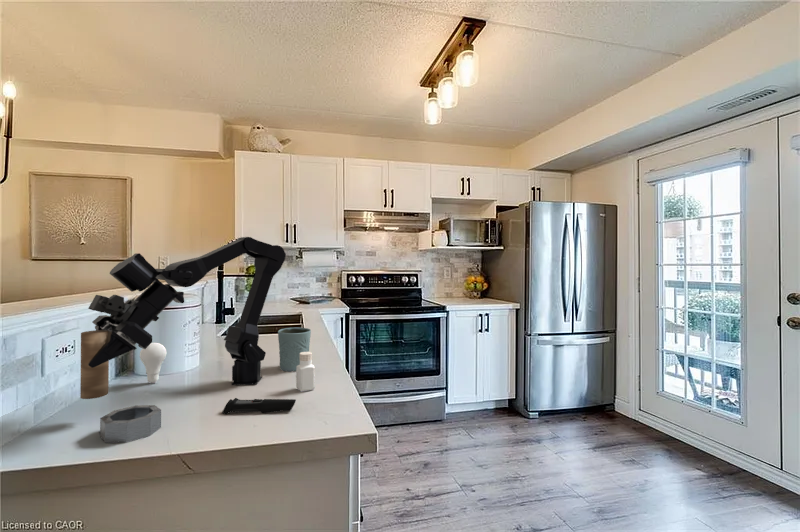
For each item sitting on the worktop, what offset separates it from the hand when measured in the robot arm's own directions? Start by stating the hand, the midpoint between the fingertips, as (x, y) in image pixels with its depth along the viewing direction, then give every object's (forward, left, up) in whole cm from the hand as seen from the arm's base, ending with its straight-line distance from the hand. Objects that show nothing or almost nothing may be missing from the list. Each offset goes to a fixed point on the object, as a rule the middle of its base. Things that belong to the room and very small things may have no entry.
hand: (86, 364), depth 77 cm
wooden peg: (-1, -1, -7) cm, 7 cm away
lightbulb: (+2, -27, -12) cm, 29 cm away
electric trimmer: (-33, -5, -12) cm, 35 cm away
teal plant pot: (-33, -41, -12) cm, 54 cm away
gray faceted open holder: (-11, +4, -12) cm, 17 cm away
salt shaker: (-40, -20, -12) cm, 47 cm away
